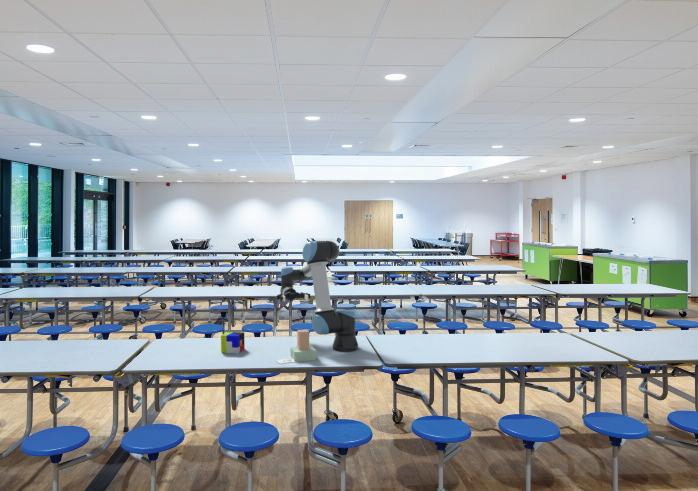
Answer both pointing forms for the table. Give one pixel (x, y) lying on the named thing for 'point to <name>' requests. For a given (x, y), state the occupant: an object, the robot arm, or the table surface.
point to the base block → (303, 354)
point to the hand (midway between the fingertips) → (296, 298)
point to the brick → (303, 339)
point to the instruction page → (286, 361)
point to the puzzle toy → (232, 342)
